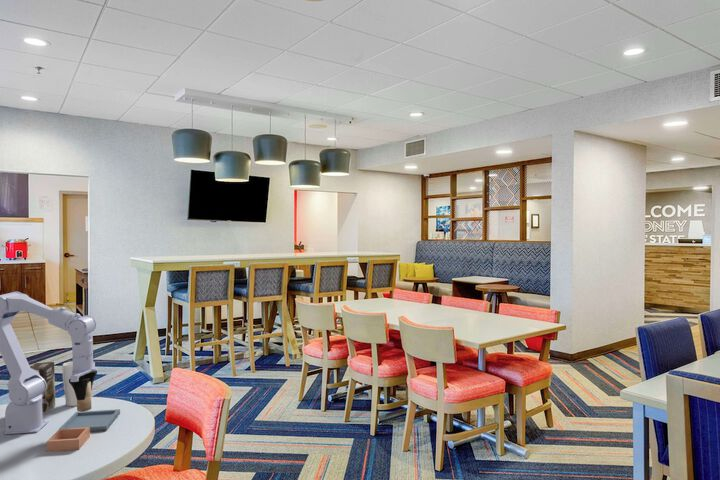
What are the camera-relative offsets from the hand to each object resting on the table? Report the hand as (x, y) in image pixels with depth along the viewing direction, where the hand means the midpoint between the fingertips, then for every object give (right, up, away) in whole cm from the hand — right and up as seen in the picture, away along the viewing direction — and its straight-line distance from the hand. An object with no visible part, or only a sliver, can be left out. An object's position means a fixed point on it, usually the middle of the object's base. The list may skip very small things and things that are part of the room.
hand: (83, 397), depth 160 cm
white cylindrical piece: (-15, -10, +22) cm, 28 cm away
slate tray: (0, -10, +5) cm, 11 cm away
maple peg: (0, -4, 0) cm, 4 cm away
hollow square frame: (+1, -11, -10) cm, 15 cm away
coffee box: (-23, -10, +15) cm, 30 cm away
